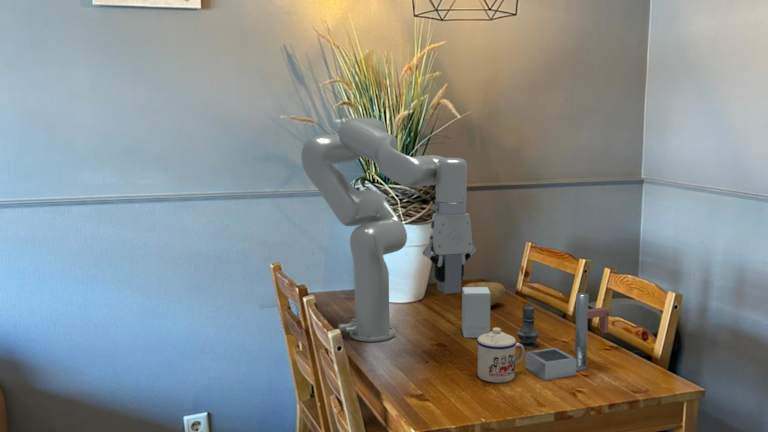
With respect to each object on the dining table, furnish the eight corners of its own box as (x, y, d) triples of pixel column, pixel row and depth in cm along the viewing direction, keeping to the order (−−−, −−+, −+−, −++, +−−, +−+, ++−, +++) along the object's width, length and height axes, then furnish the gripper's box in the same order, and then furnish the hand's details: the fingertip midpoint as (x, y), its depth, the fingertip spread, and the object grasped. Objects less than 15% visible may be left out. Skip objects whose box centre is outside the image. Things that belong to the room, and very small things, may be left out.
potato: (511, 308, 221) (511, 283, 220) (469, 313, 218) (469, 287, 216) (497, 300, 231) (497, 276, 230) (457, 304, 227) (457, 280, 226)
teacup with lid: (489, 386, 161) (489, 336, 159) (469, 372, 169) (469, 325, 167) (534, 378, 165) (535, 329, 164) (512, 365, 174) (513, 319, 172)
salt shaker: (539, 350, 184) (540, 305, 182) (516, 348, 185) (516, 304, 183) (538, 342, 190) (539, 299, 188) (516, 341, 191) (517, 298, 189)
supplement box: (490, 338, 194) (491, 293, 192) (463, 338, 194) (463, 293, 192) (487, 329, 201) (488, 286, 199) (461, 329, 202) (461, 286, 200)
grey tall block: (444, 294, 175) (445, 245, 173) (435, 288, 180) (436, 241, 178) (462, 292, 177) (464, 244, 175) (453, 287, 182) (454, 240, 180)
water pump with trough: (544, 380, 164) (546, 304, 161) (525, 367, 172) (526, 295, 169) (615, 368, 171) (618, 295, 168) (593, 357, 178) (595, 287, 176)
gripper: (425, 212, 169) (424, 286, 172) (488, 208, 175) (486, 280, 178) (413, 207, 176) (412, 279, 179) (474, 204, 182) (472, 273, 185)
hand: (449, 279), depth 178 cm, fingers closed on grey tall block, 4 cm apart
